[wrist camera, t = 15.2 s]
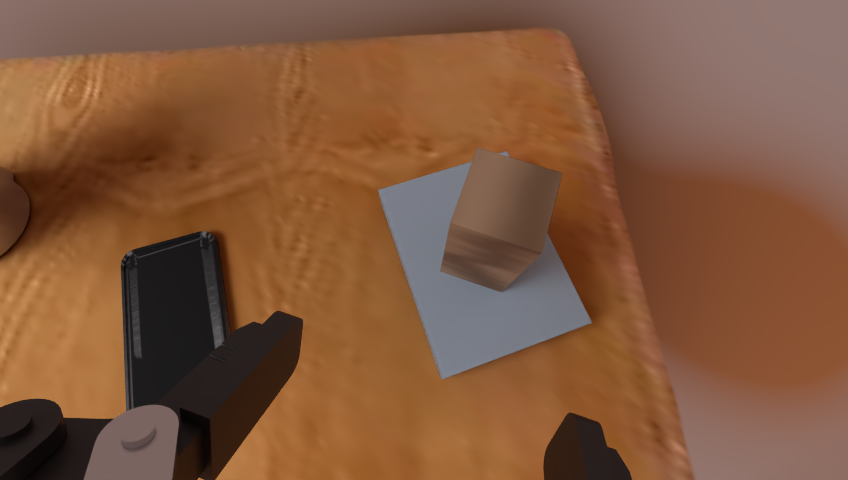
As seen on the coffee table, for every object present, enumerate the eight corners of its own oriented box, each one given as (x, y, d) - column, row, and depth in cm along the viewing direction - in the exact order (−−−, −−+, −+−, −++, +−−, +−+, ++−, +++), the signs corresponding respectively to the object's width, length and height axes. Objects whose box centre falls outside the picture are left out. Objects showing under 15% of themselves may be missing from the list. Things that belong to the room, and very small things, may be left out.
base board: (381, 204, 34) (378, 189, 31) (499, 168, 35) (506, 151, 33) (441, 378, 29) (443, 378, 26) (575, 327, 30) (592, 322, 27)
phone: (212, 228, 32) (234, 404, 27) (219, 232, 33) (241, 403, 28) (119, 253, 31) (125, 440, 26) (129, 257, 32) (136, 438, 27)
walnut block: (439, 271, 29) (450, 222, 19) (459, 216, 30) (477, 146, 21) (501, 292, 28) (541, 253, 19) (517, 235, 30) (562, 173, 20)
